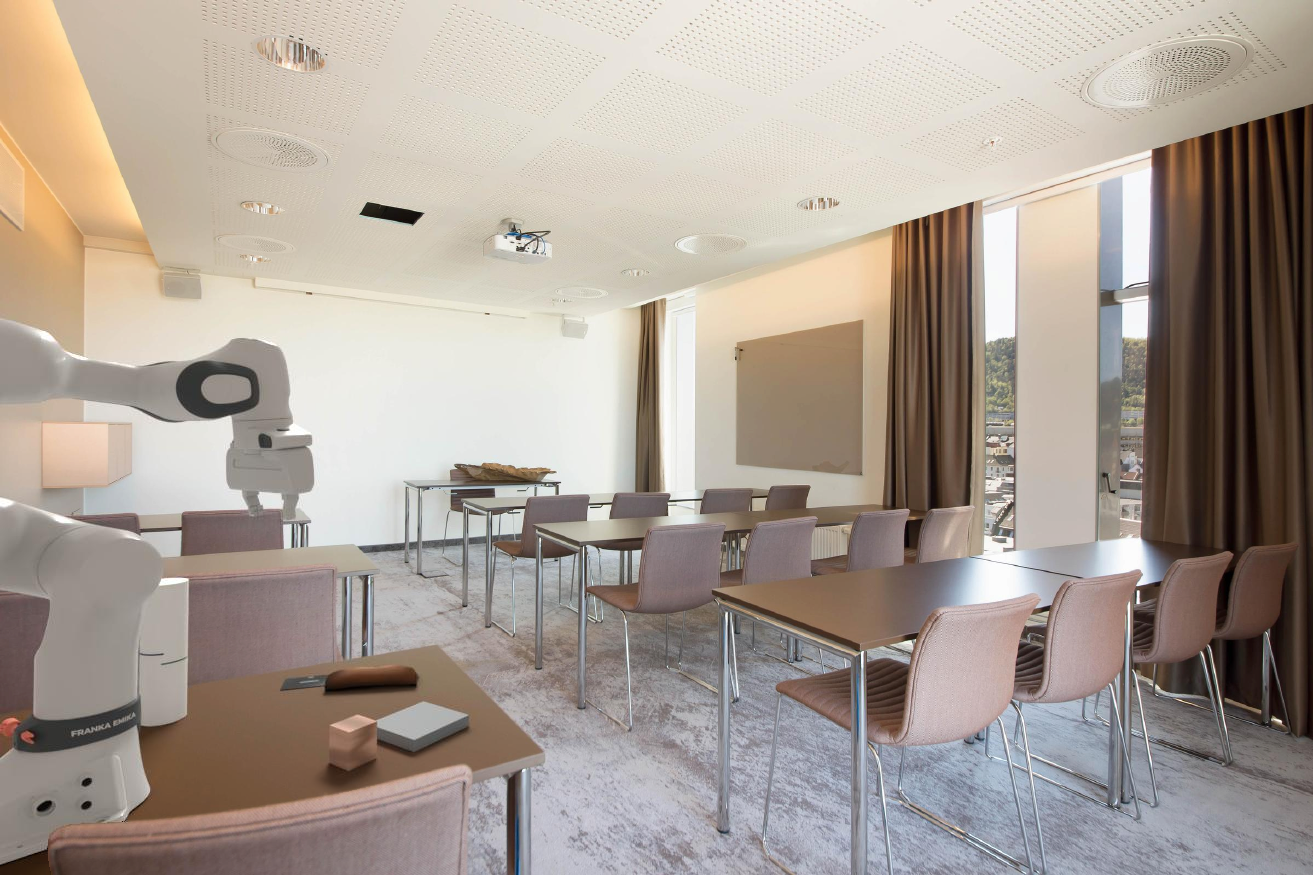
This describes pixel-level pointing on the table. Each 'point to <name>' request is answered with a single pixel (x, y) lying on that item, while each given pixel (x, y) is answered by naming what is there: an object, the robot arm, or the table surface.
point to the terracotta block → (352, 742)
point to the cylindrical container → (164, 654)
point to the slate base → (420, 725)
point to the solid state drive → (304, 682)
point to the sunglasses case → (371, 676)
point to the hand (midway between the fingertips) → (272, 517)
